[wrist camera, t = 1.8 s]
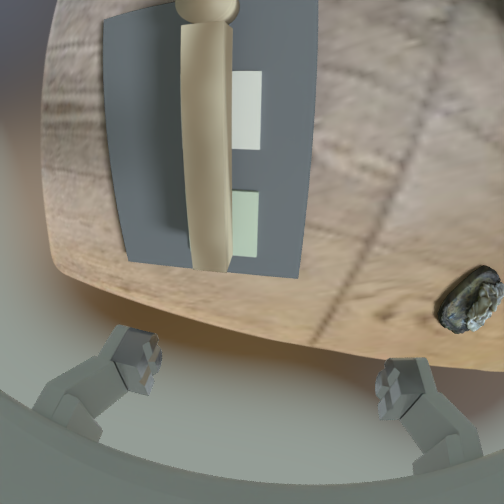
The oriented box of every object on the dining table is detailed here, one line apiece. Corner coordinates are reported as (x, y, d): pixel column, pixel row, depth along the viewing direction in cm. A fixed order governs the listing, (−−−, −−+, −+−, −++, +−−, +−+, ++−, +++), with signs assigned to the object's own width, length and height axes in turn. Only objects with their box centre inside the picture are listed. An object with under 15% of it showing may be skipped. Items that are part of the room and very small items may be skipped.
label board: (317, 1, 18) (320, -11, 15) (298, 270, 33) (297, 291, 30) (111, 21, 20) (91, 17, 17) (133, 254, 35) (120, 271, 32)
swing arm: (240, -14, 15) (232, -27, 12) (238, 254, 28) (232, 273, 25) (190, -10, 15) (176, -20, 13) (197, 251, 28) (187, 268, 26)
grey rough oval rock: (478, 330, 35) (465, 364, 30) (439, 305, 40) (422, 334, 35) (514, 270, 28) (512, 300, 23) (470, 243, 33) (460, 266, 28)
